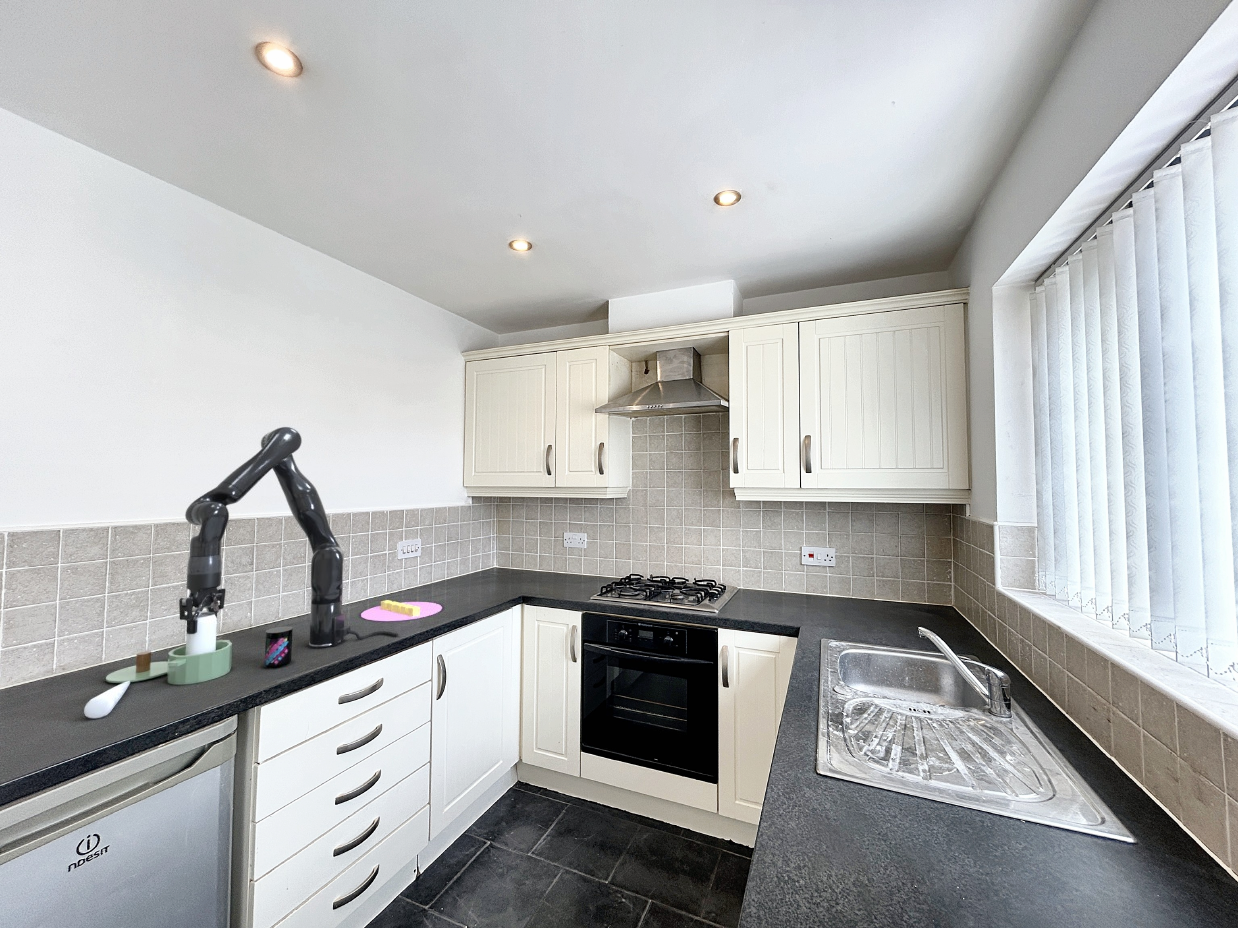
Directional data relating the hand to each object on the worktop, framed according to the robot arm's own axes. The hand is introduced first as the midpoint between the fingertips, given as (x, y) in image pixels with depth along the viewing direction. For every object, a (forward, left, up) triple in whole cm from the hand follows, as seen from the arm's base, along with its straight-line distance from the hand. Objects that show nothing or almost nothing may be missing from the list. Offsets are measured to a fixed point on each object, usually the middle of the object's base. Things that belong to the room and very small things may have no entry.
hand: (201, 629), depth 139 cm
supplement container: (-17, -7, -13) cm, 22 cm away
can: (0, 0, -8) cm, 8 cm away
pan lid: (+16, -1, -12) cm, 20 cm away
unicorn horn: (+8, +17, -13) cm, 23 cm away
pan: (0, 0, -13) cm, 13 cm away
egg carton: (+15, -22, -13) cm, 29 cm away
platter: (-31, -69, -13) cm, 77 cm away
